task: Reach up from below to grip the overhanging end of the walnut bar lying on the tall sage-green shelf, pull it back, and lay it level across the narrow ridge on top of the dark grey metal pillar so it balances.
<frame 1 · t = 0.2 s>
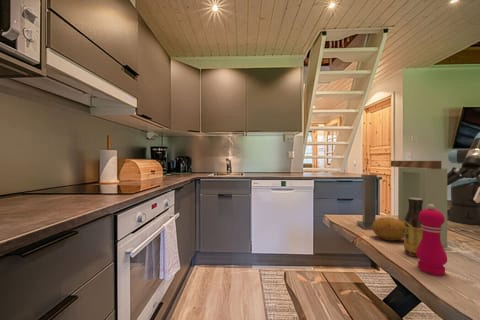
hand: (457, 198, 104), 16 cm above the table, tool tilted 35°, fingers open, 13 cm apart
sauce bottle: (415, 255, 80), on the table
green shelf: (420, 238, 97), on the table
potato: (390, 240, 95), on the table
ridge pillar: (368, 227, 113), on the table
pepper mill: (431, 271, 68), on the table
walnut bar: (412, 167, 102), point 30 cm above the table, touching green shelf
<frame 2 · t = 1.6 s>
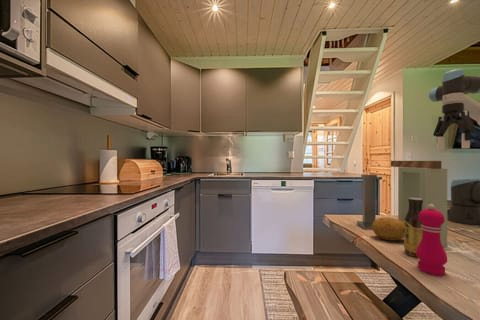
hand: (452, 149, 107), 39 cm above the table, tool pointing down, fingers open, 13 cm apart
nothing on the table moved.
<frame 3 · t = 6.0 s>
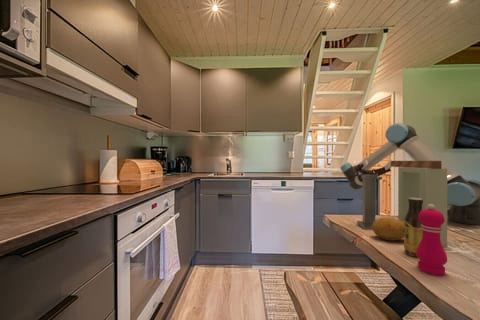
hand: (379, 162, 130), 32 cm above the table, tool pointing upward, fingers open, 13 cm apart
nothing on the table moved.
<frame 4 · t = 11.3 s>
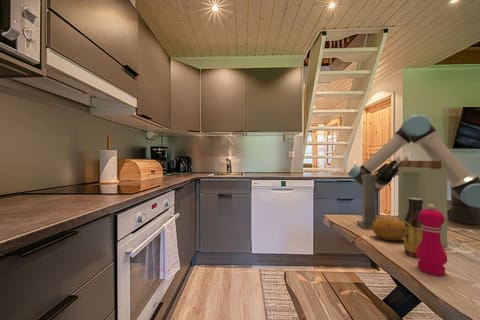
hand: (404, 158, 107), 34 cm above the table, tool pointing upward, fingers closed on walnut bar, 3 cm apart
walnut bar: (412, 167, 102), point 30 cm above the table, touching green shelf, gripper
everything else where it was.
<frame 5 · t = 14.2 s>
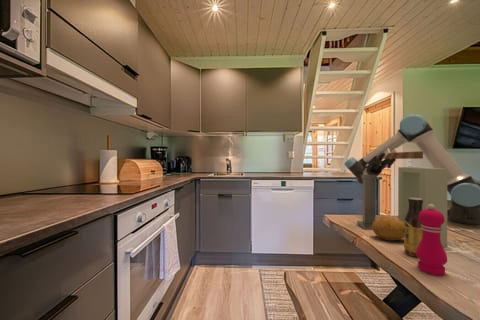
hand: (392, 150, 117), 38 cm above the table, tool pointing upward, fingers closed on walnut bar, 3 cm apart
walnut bar: (398, 158, 112), point 34 cm above the table, touching gripper
everything else where it was.
when the fingers open (32 cm above the table, at t = 17.6 s): walnut bar drops 2 cm, resting on ridge pillar.
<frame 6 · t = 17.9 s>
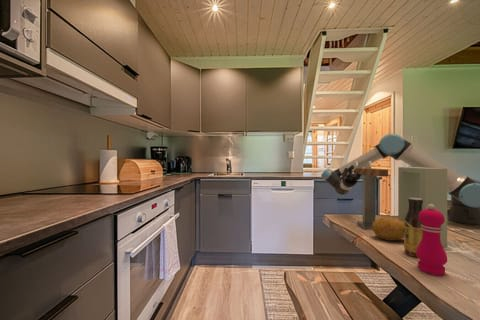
hand: (363, 163, 118), 32 cm above the table, tool pointing upward, fingers open, 6 cm apart
walnut bar: (368, 174, 113), point 26 cm above the table, touching ridge pillar
everything else where it was.
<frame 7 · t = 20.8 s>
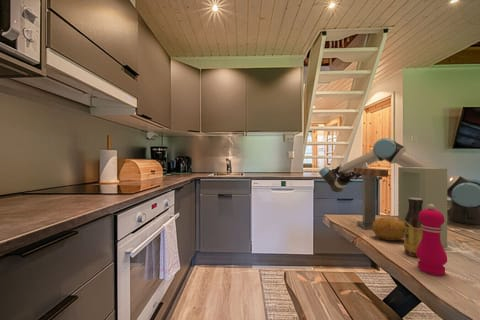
hand: (354, 164, 130), 31 cm above the table, tool pointing upward, fingers open, 13 cm apart
nothing on the table moved.
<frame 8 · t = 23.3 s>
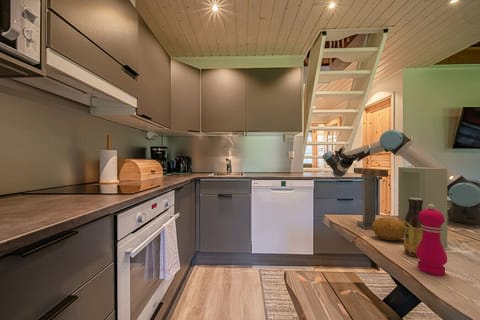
hand: (357, 145, 132), 42 cm above the table, tool pointing upward, fingers open, 13 cm apart
nothing on the table moved.
at the end: walnut bar inside the target area (0.1 cm from its centre), point 26.0 cm above the table; walnut bar tilted 0°; the gripper is holding nothing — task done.
